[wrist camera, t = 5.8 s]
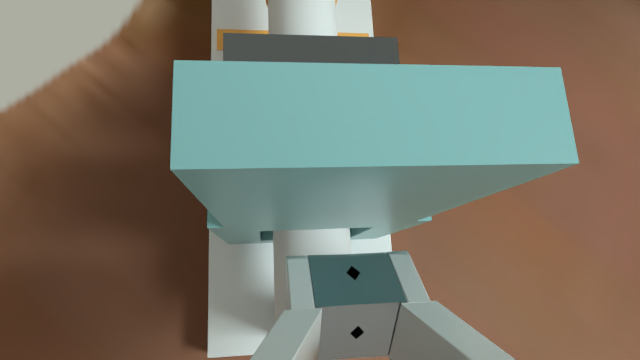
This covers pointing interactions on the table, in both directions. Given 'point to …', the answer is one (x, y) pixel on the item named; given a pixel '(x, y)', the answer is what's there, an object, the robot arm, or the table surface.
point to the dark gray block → (309, 48)
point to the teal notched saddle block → (359, 141)
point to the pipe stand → (270, 258)
